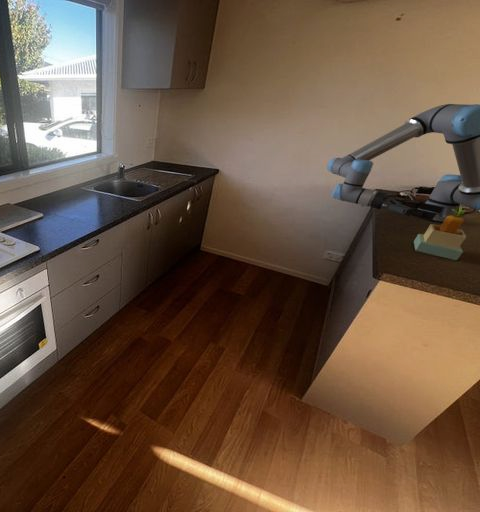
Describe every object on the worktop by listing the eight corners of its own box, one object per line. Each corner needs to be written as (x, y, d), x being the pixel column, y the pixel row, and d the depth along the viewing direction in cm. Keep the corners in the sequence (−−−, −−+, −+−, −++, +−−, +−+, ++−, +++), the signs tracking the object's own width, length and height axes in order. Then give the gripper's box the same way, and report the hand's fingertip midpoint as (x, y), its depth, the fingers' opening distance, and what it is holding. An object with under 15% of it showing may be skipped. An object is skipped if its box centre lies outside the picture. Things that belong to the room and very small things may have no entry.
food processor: (413, 240, 130) (425, 221, 126) (452, 249, 123) (466, 229, 119) (415, 250, 122) (428, 230, 117) (456, 260, 115) (472, 239, 110)
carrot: (444, 245, 118) (468, 210, 110) (428, 240, 121) (450, 206, 114) (450, 243, 119) (474, 209, 112) (434, 238, 123) (456, 205, 116)
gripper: (378, 202, 142) (439, 215, 127) (360, 211, 129) (425, 228, 114) (386, 187, 138) (450, 199, 123) (368, 195, 126) (436, 210, 111)
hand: (438, 213), depth 119 cm, fingers open, 13 cm apart
